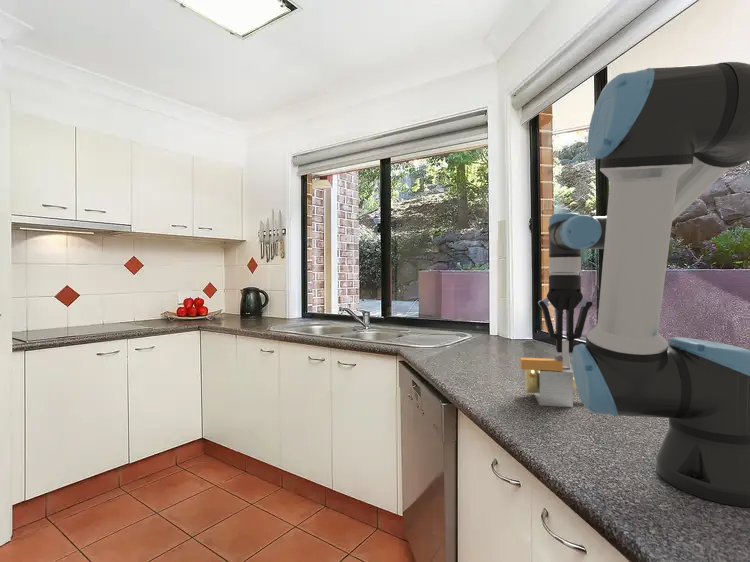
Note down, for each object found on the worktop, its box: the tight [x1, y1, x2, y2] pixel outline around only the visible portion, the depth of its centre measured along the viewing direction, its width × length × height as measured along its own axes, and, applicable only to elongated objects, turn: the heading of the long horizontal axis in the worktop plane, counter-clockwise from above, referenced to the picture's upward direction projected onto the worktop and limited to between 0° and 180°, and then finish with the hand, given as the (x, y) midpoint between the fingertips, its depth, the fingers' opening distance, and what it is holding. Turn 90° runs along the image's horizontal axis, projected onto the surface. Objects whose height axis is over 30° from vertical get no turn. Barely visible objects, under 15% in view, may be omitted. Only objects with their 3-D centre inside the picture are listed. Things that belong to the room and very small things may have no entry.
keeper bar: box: [519, 354, 563, 371], centre depth 108 cm, size 3×10×4 cm, turn 77°
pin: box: [524, 369, 577, 394], centre depth 110 cm, size 6×16×6 cm, turn 77°
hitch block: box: [533, 366, 574, 408], centre depth 110 cm, size 10×8×9 cm
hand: (564, 364), depth 106 cm, fingers closed
